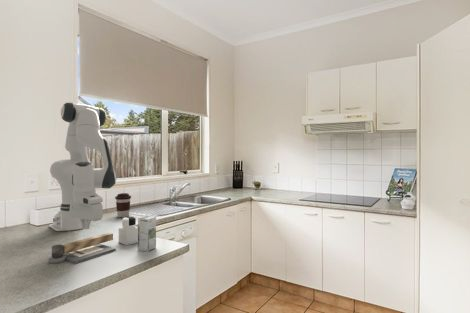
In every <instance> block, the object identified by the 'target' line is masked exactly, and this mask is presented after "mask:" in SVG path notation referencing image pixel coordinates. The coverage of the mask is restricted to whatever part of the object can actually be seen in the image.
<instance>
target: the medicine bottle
mask: <svg viewBox="0 0 470 313" xmlns="http://www.w3.org/2000/svg"><path fill="white" fill-rule="evenodd" d="M136 220H137V219H136V217H134V216H127V217H122V220H121V222H122V223H121V224H122V225H121V227H118V243H120V244H122V245H124V246H129V244H130V245H133V244H137V243H138V226H136V222H137V221H136ZM136 242H137V243H136Z"/></svg>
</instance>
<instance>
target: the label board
mask: <svg viewBox="0 0 470 313" xmlns="http://www.w3.org/2000/svg"><path fill="white" fill-rule="evenodd" d="M116 251H117V250H116V248H115V247H112V246H109V245H106V244H103V243H101V244H97V245H94V246H90V247H87V248H83V249H80V250H76V251H73V252H70V253H66V254H64V253H63V256H61V257H57V258H52V255H51V256H49V257H48V264H50V265H51V264H52V265H55V264H61V263H63V262H64V263H65V262H68V263H70V264H71V263H72V264H74V265H76V264H79V263H82V262H85V261H89V260H92V259H94V258H97V257H100V256H104V255H106V254H109V253H113V252H116Z"/></svg>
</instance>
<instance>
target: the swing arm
mask: <svg viewBox="0 0 470 313" xmlns="http://www.w3.org/2000/svg"><path fill="white" fill-rule="evenodd" d="M113 240H114V233H112V232H106V233H102V234H98V235H95V236H91V237H90V236H89V237H87V238H83V239H79V240H74V241H71V242H67V243H64V244H60V243H59V244H54V245H51V256H52V258H57V257H61V256H63V253H64V254H66V253H70V252H73V251H76V250H80V249H83V248H87V247H90V246H94V245H97V244H105V243H107V242H110V241H113Z"/></svg>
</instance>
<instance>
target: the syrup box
mask: <svg viewBox="0 0 470 313" xmlns="http://www.w3.org/2000/svg"><path fill="white" fill-rule="evenodd" d="M137 227H138V242H137V250H138V251H141V252H150V251H152V250H154V249H156V248H157V217H156V216H153V215H144V216H142V217H138V218H137Z"/></svg>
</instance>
